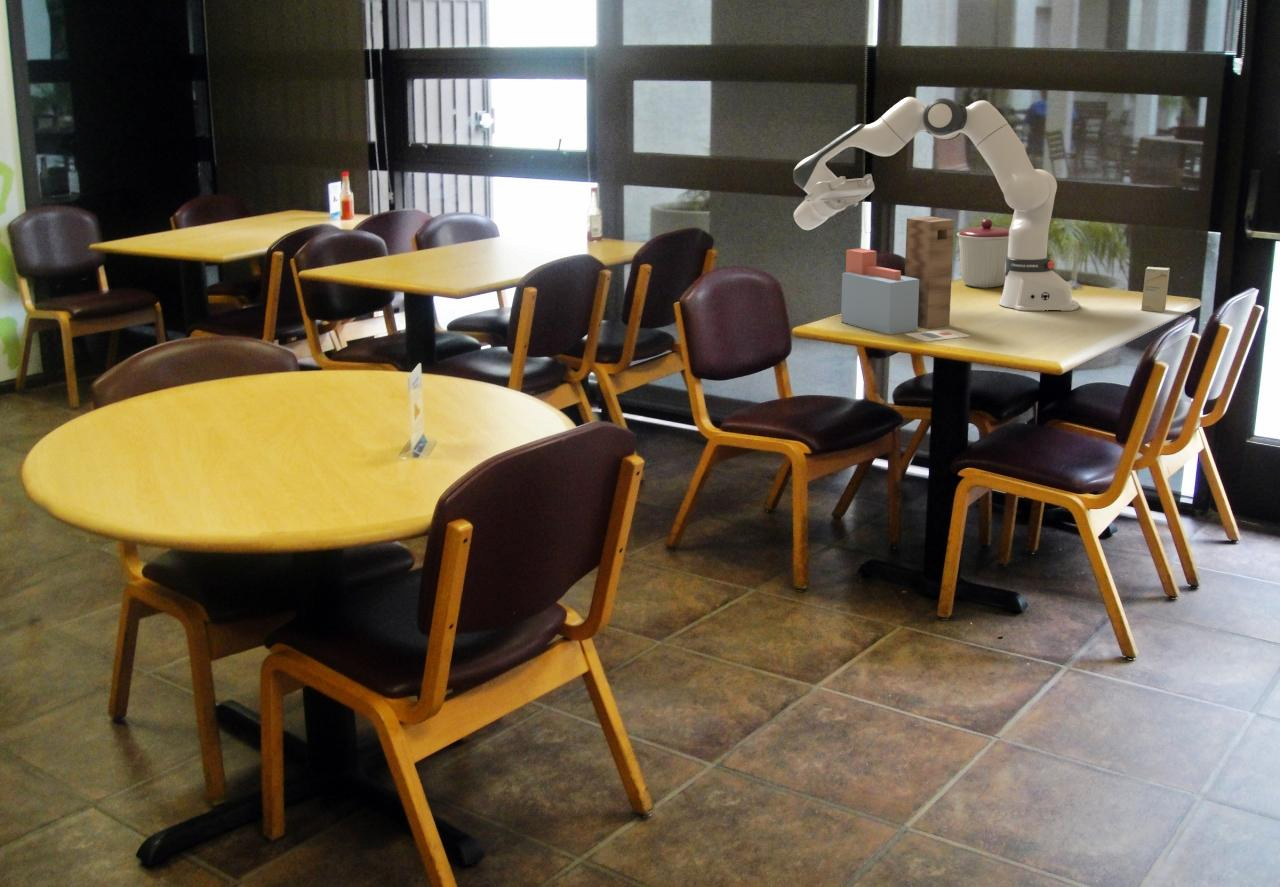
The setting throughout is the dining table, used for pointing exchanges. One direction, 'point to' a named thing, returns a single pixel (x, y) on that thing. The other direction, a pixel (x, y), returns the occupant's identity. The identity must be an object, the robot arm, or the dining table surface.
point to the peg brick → (868, 264)
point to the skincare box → (1155, 289)
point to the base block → (880, 302)
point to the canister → (983, 255)
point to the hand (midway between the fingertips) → (856, 177)
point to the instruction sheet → (937, 335)
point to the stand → (931, 267)
